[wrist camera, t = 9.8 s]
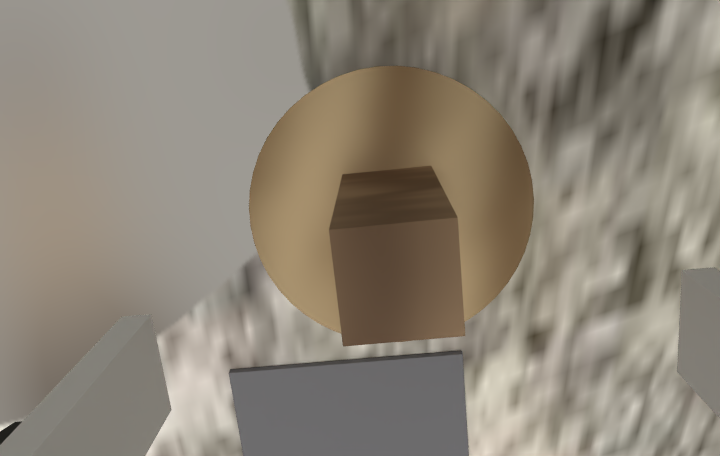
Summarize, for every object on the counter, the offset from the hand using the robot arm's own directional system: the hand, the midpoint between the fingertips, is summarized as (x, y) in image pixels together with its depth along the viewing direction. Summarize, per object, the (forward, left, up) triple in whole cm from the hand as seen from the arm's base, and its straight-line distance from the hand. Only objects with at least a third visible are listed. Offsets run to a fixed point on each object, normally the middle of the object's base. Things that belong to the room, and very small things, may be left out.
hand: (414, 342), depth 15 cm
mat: (+4, +21, -24) cm, 33 cm away
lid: (0, 0, -14) cm, 14 cm away
